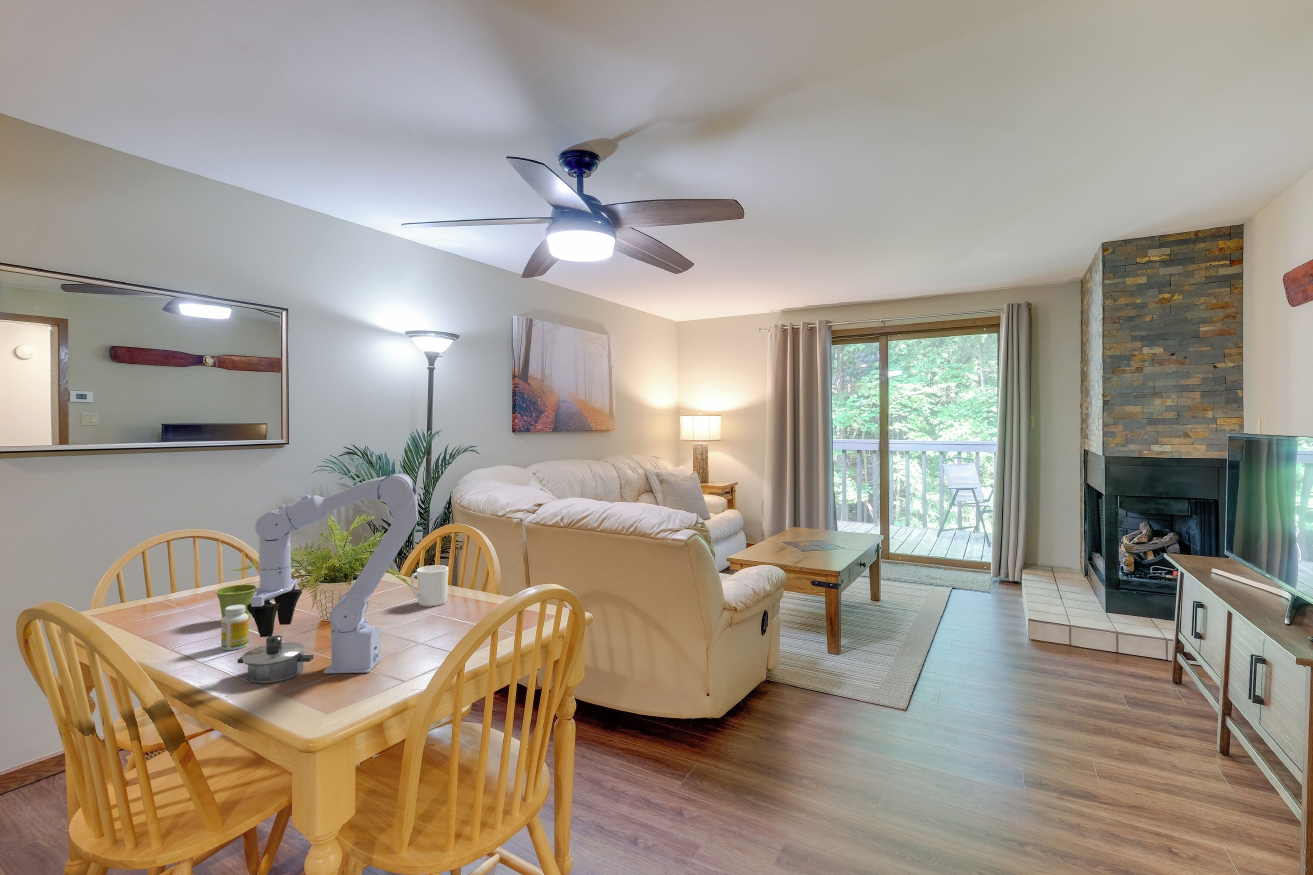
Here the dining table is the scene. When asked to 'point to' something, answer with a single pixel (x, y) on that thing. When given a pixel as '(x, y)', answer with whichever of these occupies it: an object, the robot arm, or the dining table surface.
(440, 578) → the mug
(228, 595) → the plant pot
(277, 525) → the robot arm
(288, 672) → the pot
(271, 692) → the dining table surface
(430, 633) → the dining table surface
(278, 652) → the lid
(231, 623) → the supplement bottle
